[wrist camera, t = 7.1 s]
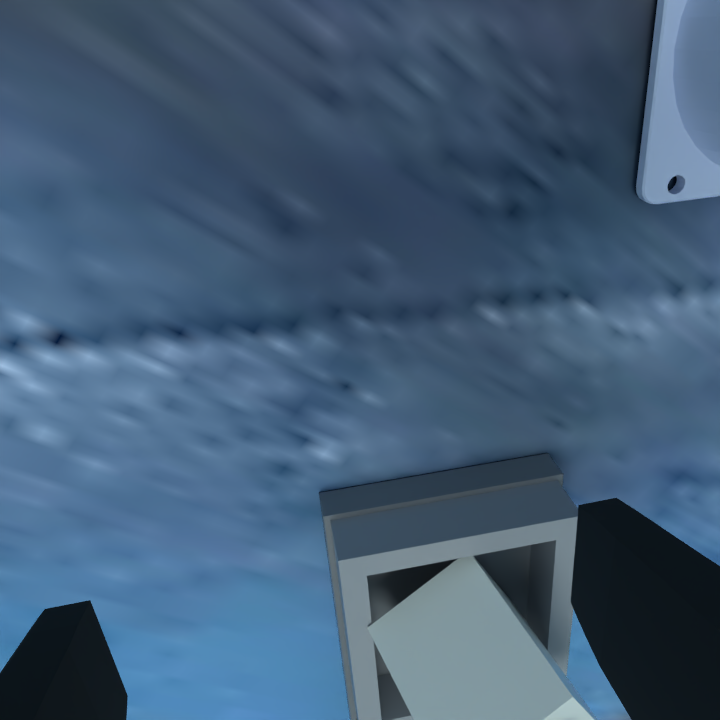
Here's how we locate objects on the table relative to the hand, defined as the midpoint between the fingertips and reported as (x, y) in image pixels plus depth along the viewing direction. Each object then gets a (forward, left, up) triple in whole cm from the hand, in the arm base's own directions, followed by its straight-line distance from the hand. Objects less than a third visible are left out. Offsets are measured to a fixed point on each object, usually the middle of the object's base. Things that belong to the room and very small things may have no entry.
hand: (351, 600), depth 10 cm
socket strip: (-4, +16, -10) cm, 19 cm away
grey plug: (-4, +10, -8) cm, 14 cm away
